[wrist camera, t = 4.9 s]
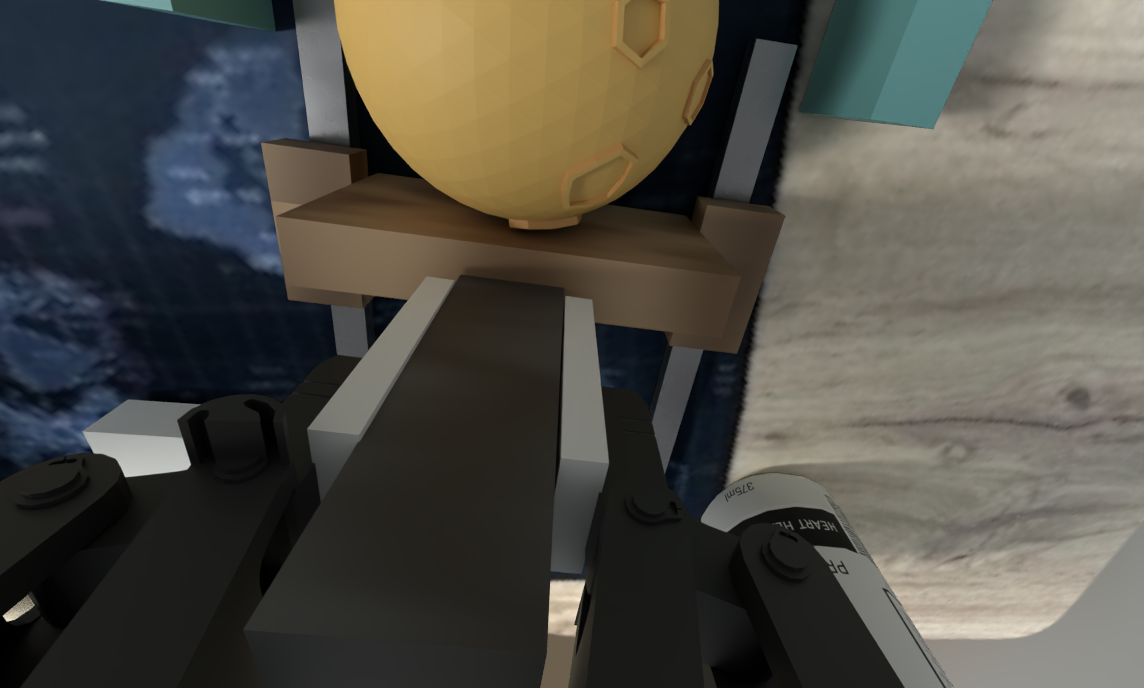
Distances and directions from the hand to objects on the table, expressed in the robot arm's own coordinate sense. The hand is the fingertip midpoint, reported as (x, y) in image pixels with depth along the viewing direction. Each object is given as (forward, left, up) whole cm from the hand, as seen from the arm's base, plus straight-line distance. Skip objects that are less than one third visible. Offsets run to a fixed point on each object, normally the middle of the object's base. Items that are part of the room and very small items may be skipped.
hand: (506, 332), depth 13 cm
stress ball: (0, +7, -9) cm, 11 cm away
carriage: (0, 0, -8) cm, 8 cm away
